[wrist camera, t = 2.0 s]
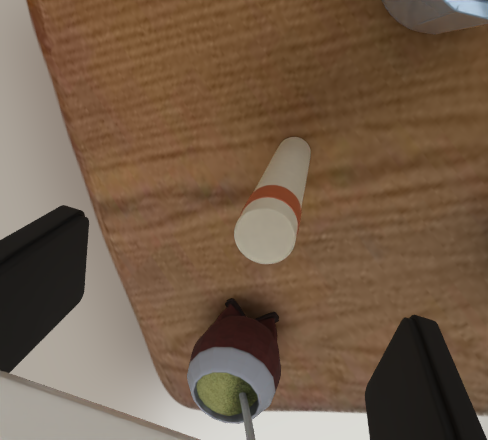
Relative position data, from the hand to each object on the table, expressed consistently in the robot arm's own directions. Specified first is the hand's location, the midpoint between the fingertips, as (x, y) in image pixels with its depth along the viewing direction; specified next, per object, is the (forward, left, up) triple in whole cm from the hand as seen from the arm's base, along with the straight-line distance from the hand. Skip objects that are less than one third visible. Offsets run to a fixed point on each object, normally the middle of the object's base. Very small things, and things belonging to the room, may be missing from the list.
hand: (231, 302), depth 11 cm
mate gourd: (-1, +16, -18) cm, 24 cm away
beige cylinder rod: (0, 0, -18) cm, 18 cm away
